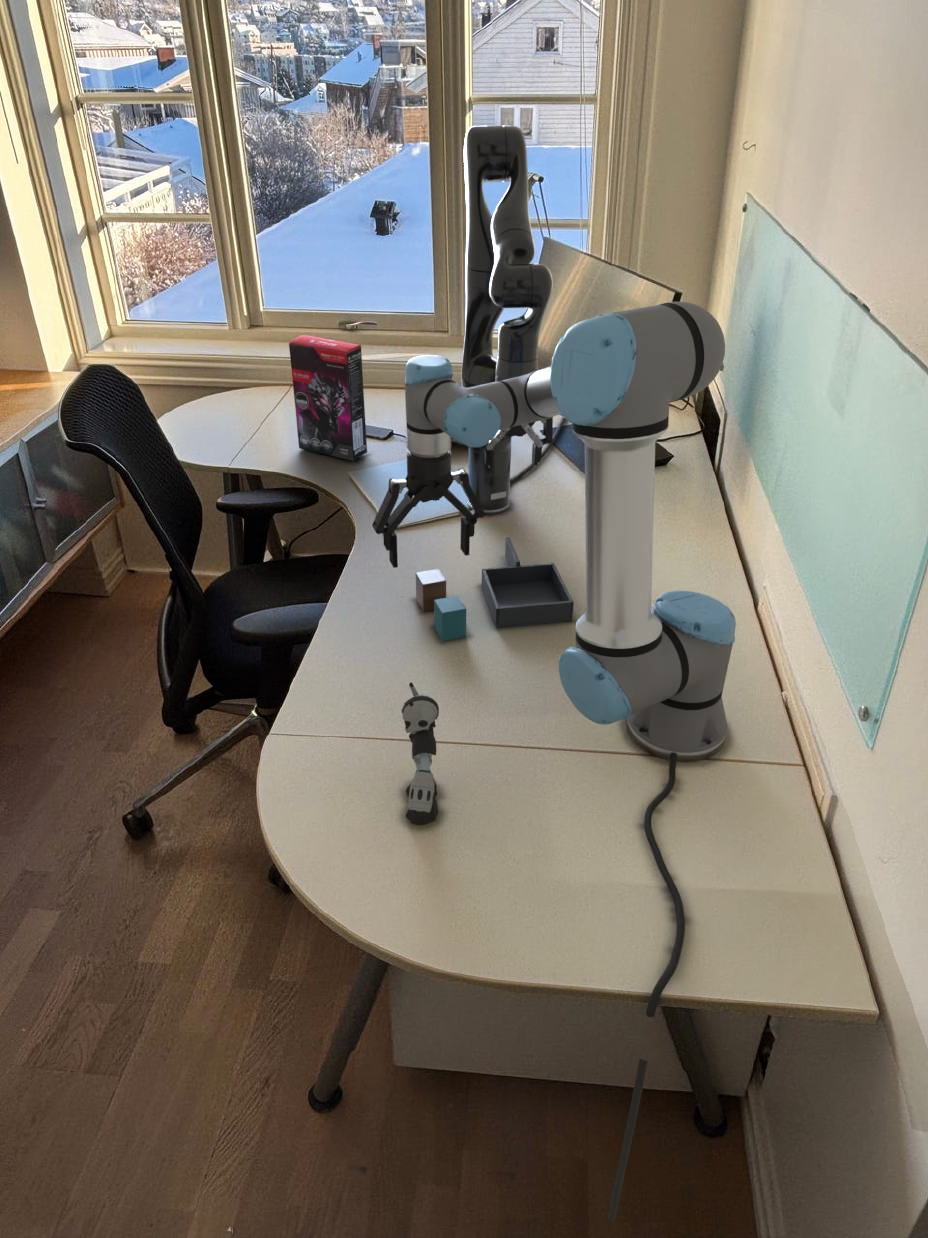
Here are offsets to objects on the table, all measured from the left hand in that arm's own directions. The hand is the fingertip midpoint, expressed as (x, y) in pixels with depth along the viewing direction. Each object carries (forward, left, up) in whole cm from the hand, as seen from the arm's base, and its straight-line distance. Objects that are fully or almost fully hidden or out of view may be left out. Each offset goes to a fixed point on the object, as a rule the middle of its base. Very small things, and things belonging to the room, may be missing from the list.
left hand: (512, 465), depth 173 cm
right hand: (+16, -14, -12) cm, 24 cm away
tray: (+10, +2, -21) cm, 24 cm away
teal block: (+25, -10, -21) cm, 34 cm away
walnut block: (+16, -14, -21) cm, 30 cm away
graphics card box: (-52, -45, -21) cm, 72 cm away
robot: (+68, -11, -21) cm, 72 cm away
